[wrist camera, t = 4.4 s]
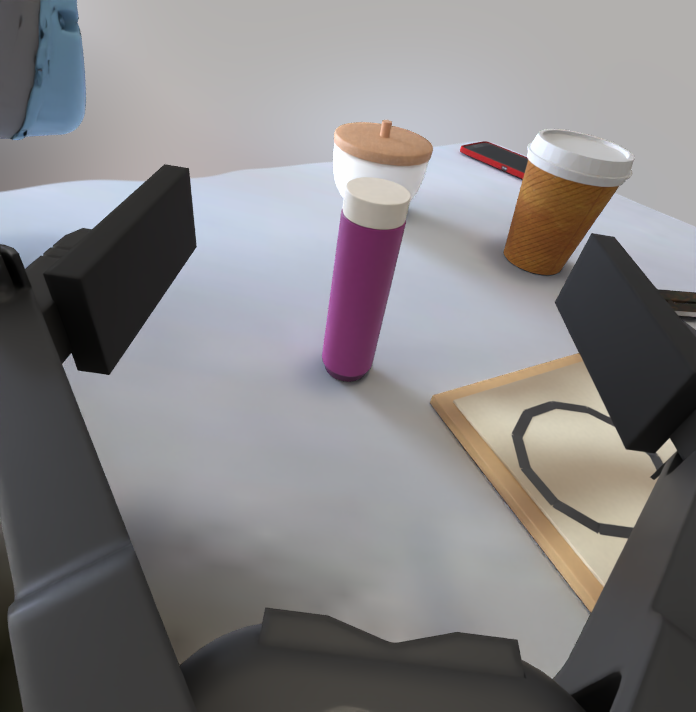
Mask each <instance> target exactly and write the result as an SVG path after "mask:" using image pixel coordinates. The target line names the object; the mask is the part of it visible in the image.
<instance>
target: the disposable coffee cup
mask: <svg viewBox="0 0 696 712" xmlns="http://www.w3.org/2000/svg"><path fill="white" fill-rule="evenodd" d="M527 149H528V155H527V157H528V162H527V166H526V170H525V174H524V178H523V180H522V185H521V188H520V192H519V196H518V199H517V204H516V207H515V211H514V215H513V219H512V222H511V226H510V230H509V234H508V238H507V241H506V245H505V249H504V255H505V257H506V258H507V259H508V260H509V261H510V262H511V263H512V264H514V265H515V266H517V267H519V268H521V269H523V270H526V271H529V272H532V273H536V274H541V275H553V274H557V273H559V272H560V271H561V269H562V268H563V266H564V265H565V263H566V262H567V261H568V259H569V258H570V256H571V255H572V253H573V252H574V251H575V249H576V248H577V246H578V245H579V243H580V242H581V241H582V239H583V238H584V236H585V235H586V233H587V232H588V230H589V229H590V228H591V226H592V225H593V223H594V222H595V220H596V219H597V217H598V216H599V215H600V213H601V212H602V210H603V209H604V207H605V206H606V205H607V203H608V202H609V200H610V199H611V197H612V196H613V194H614V193H615V192H616V190H617V188H618V187H619V186H620V185H622V184H623V183H624V182H625V180H627V179H629V178H630V177H631V176H632V170H631V167H632V164H633V161H634V155H633V154H632V153H631V152H630V151H628V150H627V149H625V148H623V147H622V146H620V145H617V144H615V143H613V142H610V141H607V140H604V139H601V138H598V137H595V136H592V135H588V134H584V133H579V132H575V131H569V130H561V129H545V130H541V131H540V132H539V133H538V134H537V136H536V138H535V139H534V141H533V142H532V143H530V144H529V145H528V147H527Z"/></svg>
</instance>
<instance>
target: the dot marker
mask: <svg viewBox="0 0 696 712" xmlns="http://www.w3.org/2000/svg"><path fill="white" fill-rule="evenodd" d="M410 199H411V195H410V192H409V191H408V190H407V189H406V188H404V187H403V186H401V185H399V184H397V183H395V182H392V181H389V180H385V179H380V178H372V177H361V178H355V179H352V180H350V181H349V182H348V183H347V184H346V188H345V195H344V202H343V208H342V211H341V218H340V225H339V233H338V240H337V248H336V255H335V263H334V270H333V278H332V285H331V293H330V300H329V308H328V315H327V323H326V330H325V338H324V345H323V353H322V359H323V362H324V364H325V367H326V370H327V372H328V373H329V374H330V375H331V376H332V377H334V378H335V379H338V380H341V381H346V382H351V381H356V380H359V379H361V378H362V377H363V376H364V375H365V373H366V372H367V371H369V369H370V368H371V366H372V363H373V359H374V355H375V351H376V346H377V342H378V338H379V334H380V330H381V325H382V321H383V317H384V313H385V309H386V304H387V300H388V296H389V292H390V288H391V283H392V279H393V275H394V271H395V266H396V262H397V258H398V254H399V250H400V245H401V241H402V237H403V233H404V229H405V224H406V216H407V212H408V208H409V204H410Z"/></svg>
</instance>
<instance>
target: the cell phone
mask: <svg viewBox="0 0 696 712" xmlns="http://www.w3.org/2000/svg"><path fill="white" fill-rule="evenodd" d="M460 152H462V153H464V154H466V155H468V156H470V157H473V158H475V159H477V160H480V161H482V162H484V163H487V164H489V165H491V166H494V167H496V168H498V169H500V170H503V171H505V172H507V173H510V174H512V175H514V176H517V177H519V178H521V179H523V178H524V174H525V170H526V166H527V162H528V158H527V157H524V156H522V155H520V154H517V153H515V152H512V151H510V150H507V149H505V148H502V147H500V146H497V145H495V144H492V143H489V142H485V141H484V142H478V143H473V144H467V145H463V146H461V149H460Z"/></svg>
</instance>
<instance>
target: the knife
mask: <svg viewBox="0 0 696 712" xmlns="http://www.w3.org/2000/svg"><path fill="white" fill-rule="evenodd" d="M657 290H658V289H657ZM658 291H659V292H660V294H661V295H662V296H663V297H664V299H665V300H666V301H667V302H668V304H669V305H670V306H671V307H672V308H673V310H674V311H675V312H676V313H677V315H678V316H692V317H696V293H694V292H682V291H670V290H658ZM674 302H676V303H674ZM683 303H688V304H683Z"/></svg>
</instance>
